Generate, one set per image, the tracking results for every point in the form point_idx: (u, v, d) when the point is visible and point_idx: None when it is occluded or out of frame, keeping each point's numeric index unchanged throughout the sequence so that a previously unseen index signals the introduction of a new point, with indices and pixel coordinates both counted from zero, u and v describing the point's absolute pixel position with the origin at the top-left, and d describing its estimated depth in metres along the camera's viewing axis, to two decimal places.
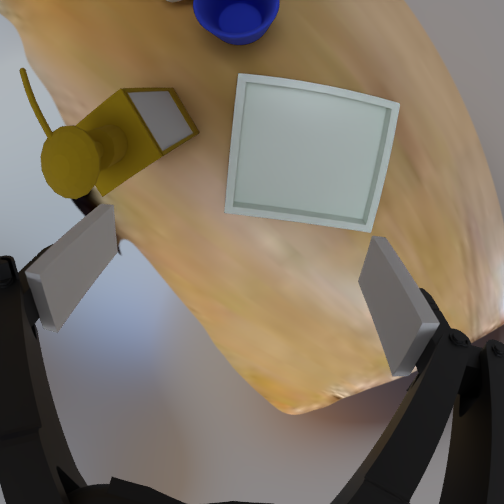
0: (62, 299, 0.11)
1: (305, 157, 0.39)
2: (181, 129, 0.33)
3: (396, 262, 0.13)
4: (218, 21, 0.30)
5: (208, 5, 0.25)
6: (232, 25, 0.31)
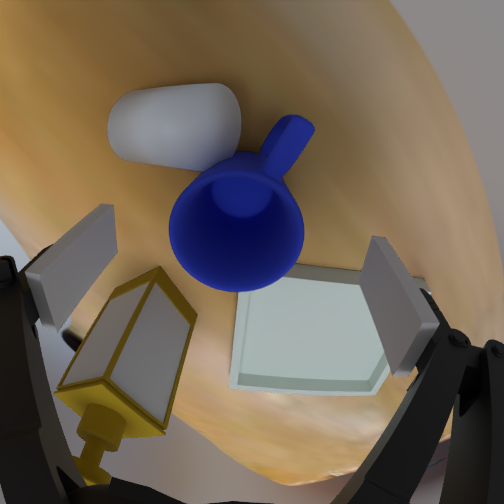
0: (62, 299, 0.11)
1: (316, 340, 0.36)
2: (177, 341, 0.30)
3: (396, 262, 0.13)
4: (211, 191, 0.27)
5: (193, 207, 0.21)
6: (231, 196, 0.27)
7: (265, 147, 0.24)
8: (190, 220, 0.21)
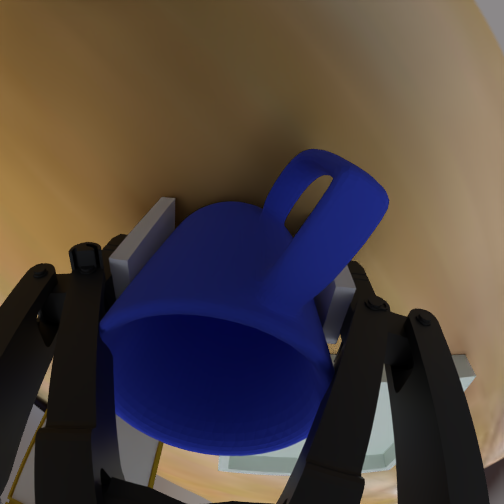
0: None
1: None
2: (147, 446, 0.20)
3: None
4: None
5: (141, 318, 0.12)
6: None
7: (272, 200, 0.14)
8: (135, 341, 0.11)
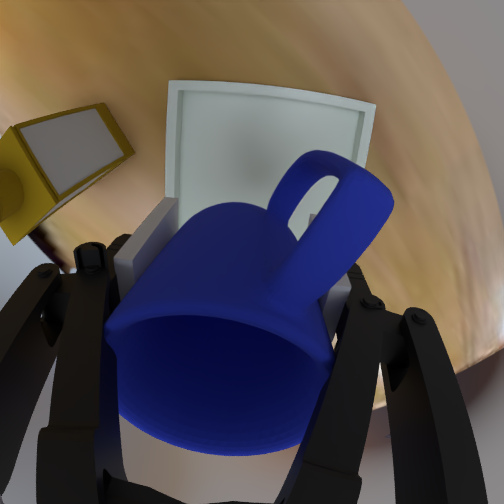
0: None
1: (258, 176, 0.33)
2: (104, 155, 0.27)
3: None
4: None
5: None
6: None
7: (276, 200, 0.14)
8: (139, 342, 0.11)
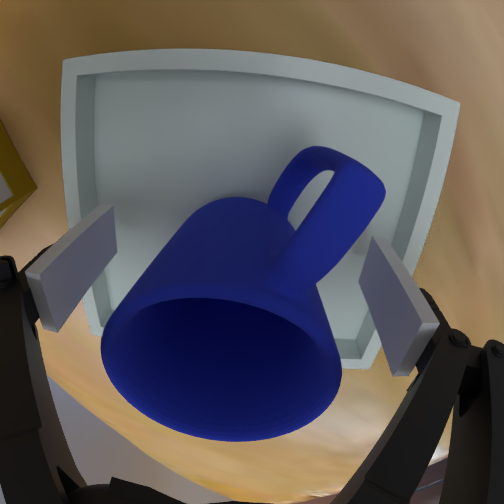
0: (62, 299, 0.11)
1: None
2: None
3: (396, 262, 0.13)
4: None
5: (152, 308, 0.12)
6: None
7: (276, 195, 0.14)
8: (146, 330, 0.12)
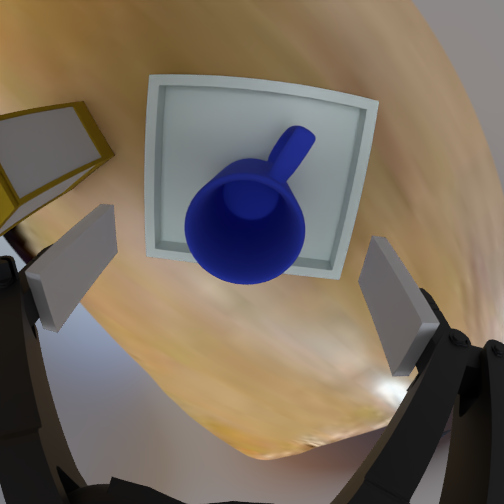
0: (62, 299, 0.11)
1: None
2: (78, 156, 0.24)
3: (396, 262, 0.13)
4: (222, 194, 0.29)
5: (206, 207, 0.24)
6: (241, 199, 0.30)
7: (273, 155, 0.26)
8: (203, 218, 0.24)
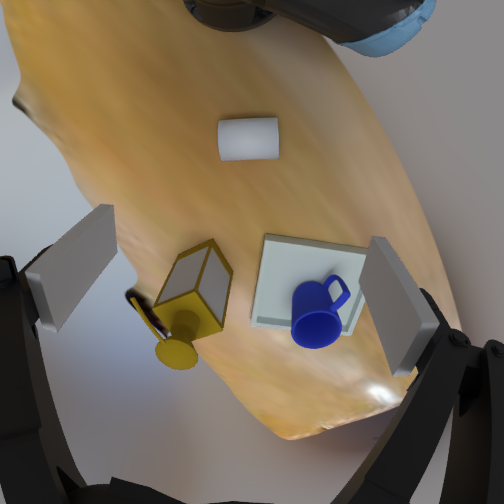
0: (62, 299, 0.11)
1: None
2: (225, 283, 0.51)
3: (396, 262, 0.13)
4: None
5: None
6: None
7: (325, 284, 0.53)
8: None
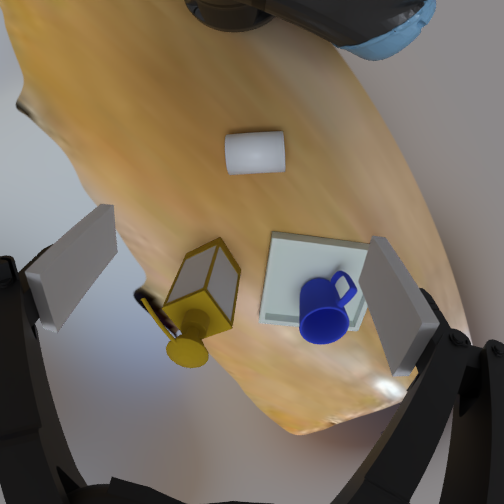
0: (62, 299, 0.11)
1: None
2: (233, 281, 0.51)
3: (396, 262, 0.13)
4: None
5: None
6: None
7: (332, 280, 0.54)
8: None
